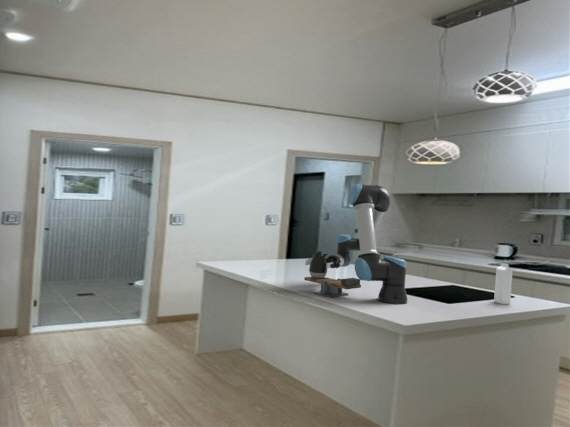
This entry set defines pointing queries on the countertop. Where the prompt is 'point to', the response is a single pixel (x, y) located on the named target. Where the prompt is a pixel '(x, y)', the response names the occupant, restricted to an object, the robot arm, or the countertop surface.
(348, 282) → the balance beam
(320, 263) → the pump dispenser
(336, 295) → the pivot stand
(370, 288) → the countertop surface
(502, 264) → the milk
